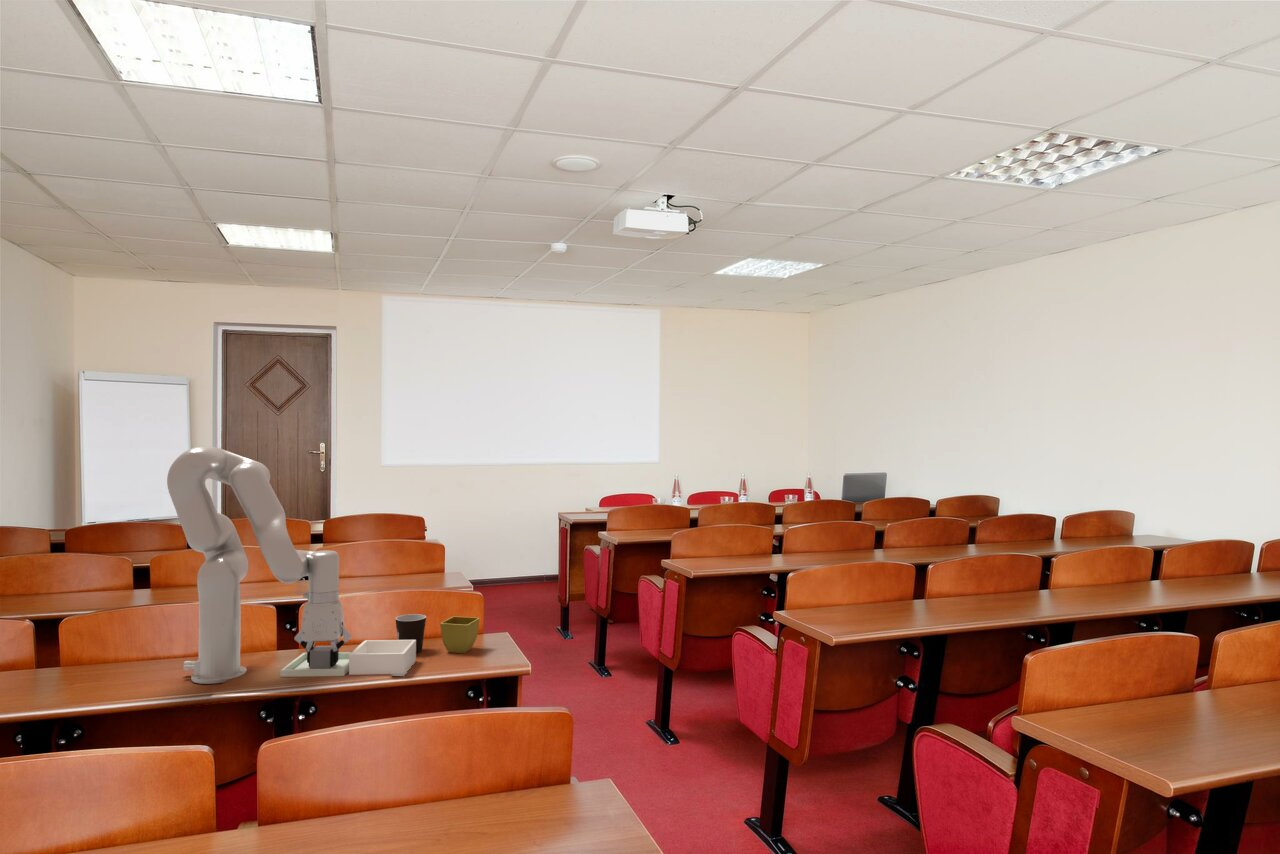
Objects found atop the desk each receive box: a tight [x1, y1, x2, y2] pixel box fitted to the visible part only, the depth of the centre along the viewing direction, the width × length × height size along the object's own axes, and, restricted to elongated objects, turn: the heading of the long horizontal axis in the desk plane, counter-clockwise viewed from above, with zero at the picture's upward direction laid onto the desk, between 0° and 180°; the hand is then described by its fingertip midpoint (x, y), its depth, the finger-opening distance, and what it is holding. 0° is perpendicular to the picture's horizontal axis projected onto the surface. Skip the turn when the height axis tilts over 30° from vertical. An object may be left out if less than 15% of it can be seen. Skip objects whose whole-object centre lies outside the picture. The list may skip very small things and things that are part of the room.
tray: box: [279, 651, 352, 678], centre depth 206 cm, size 16×16×2 cm
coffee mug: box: [395, 613, 427, 655], centre depth 226 cm, size 12×9×10 cm
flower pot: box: [440, 615, 480, 654], centre depth 226 cm, size 9×9×9 cm
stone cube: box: [310, 645, 332, 669], centre depth 206 cm, size 5×5×5 cm
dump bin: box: [348, 639, 417, 677], centre depth 207 cm, size 14×14×6 cm
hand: (322, 664), depth 206 cm, fingers closed on stone cube, 5 cm apart
